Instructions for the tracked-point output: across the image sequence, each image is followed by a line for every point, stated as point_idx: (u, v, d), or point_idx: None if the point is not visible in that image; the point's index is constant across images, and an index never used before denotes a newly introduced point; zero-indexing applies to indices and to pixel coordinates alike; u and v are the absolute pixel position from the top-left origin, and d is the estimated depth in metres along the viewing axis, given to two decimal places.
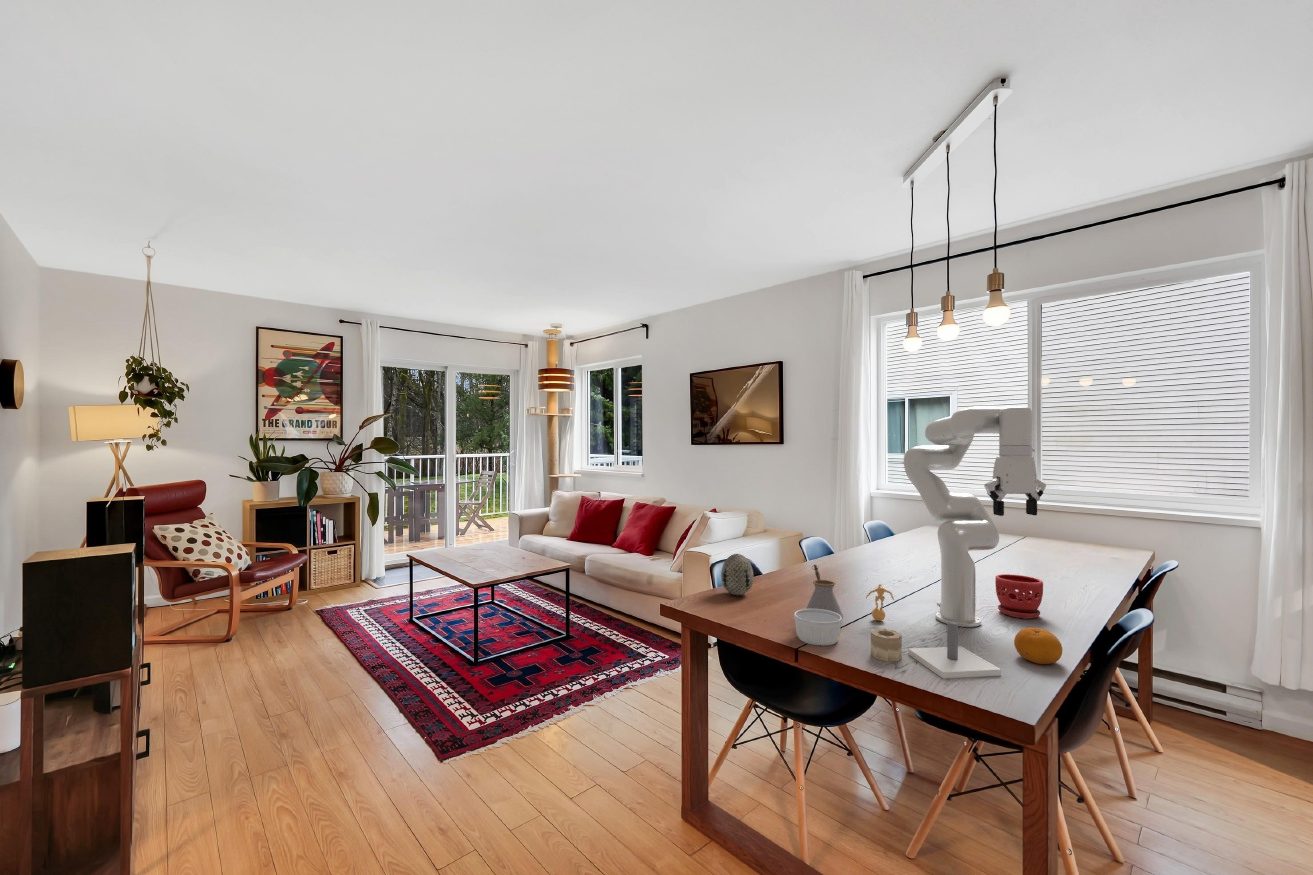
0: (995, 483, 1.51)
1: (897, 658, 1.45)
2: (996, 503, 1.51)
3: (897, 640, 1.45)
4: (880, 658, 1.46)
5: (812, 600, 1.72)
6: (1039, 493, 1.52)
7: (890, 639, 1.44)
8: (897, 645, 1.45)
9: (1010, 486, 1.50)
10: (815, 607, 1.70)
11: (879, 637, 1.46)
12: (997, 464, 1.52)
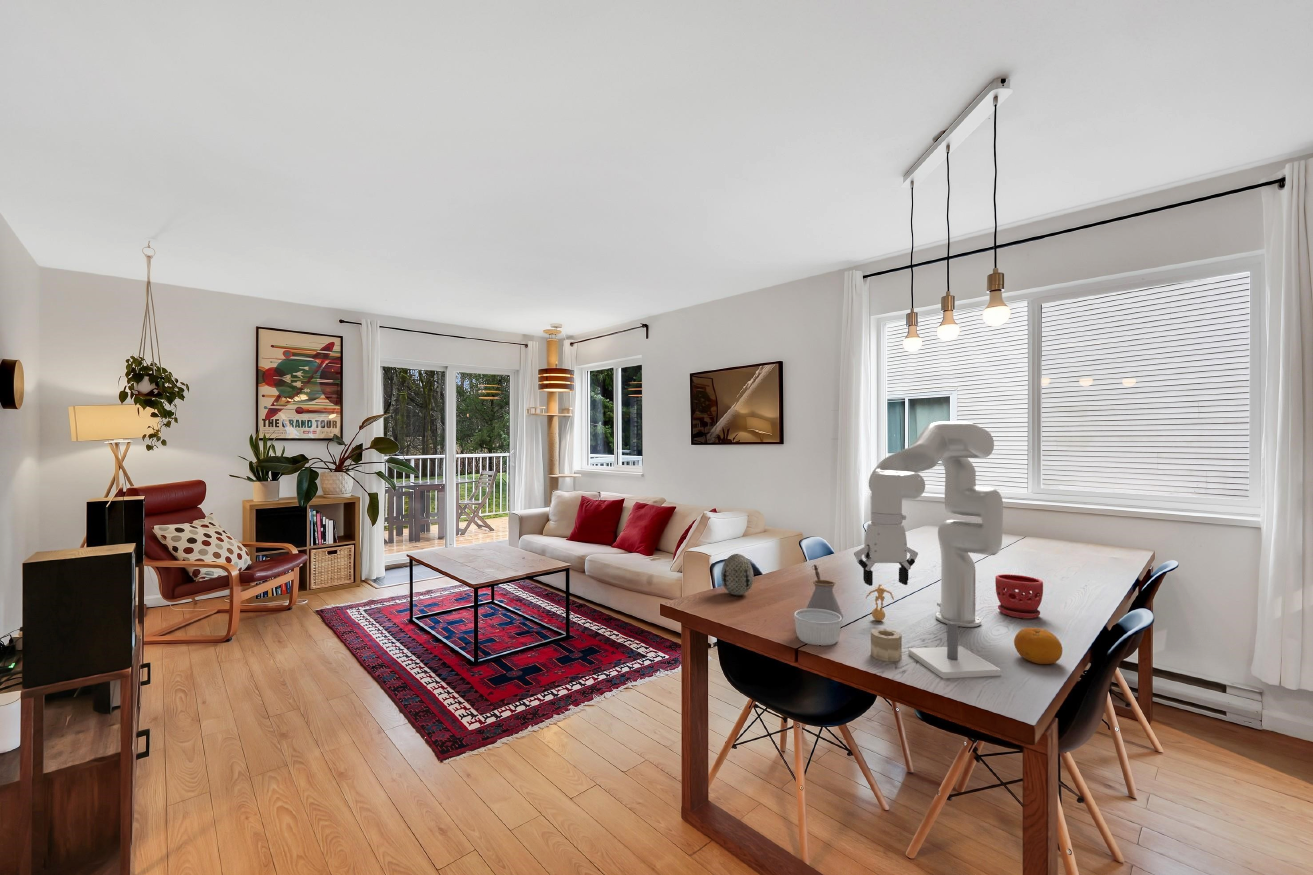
0: (864, 552, 1.47)
1: (897, 658, 1.45)
2: (865, 572, 1.47)
3: (897, 640, 1.45)
4: (880, 658, 1.46)
5: (812, 600, 1.72)
6: (910, 562, 1.48)
7: (890, 639, 1.44)
8: (897, 645, 1.45)
9: (878, 555, 1.45)
10: (815, 607, 1.70)
11: (879, 637, 1.46)
12: (867, 531, 1.48)
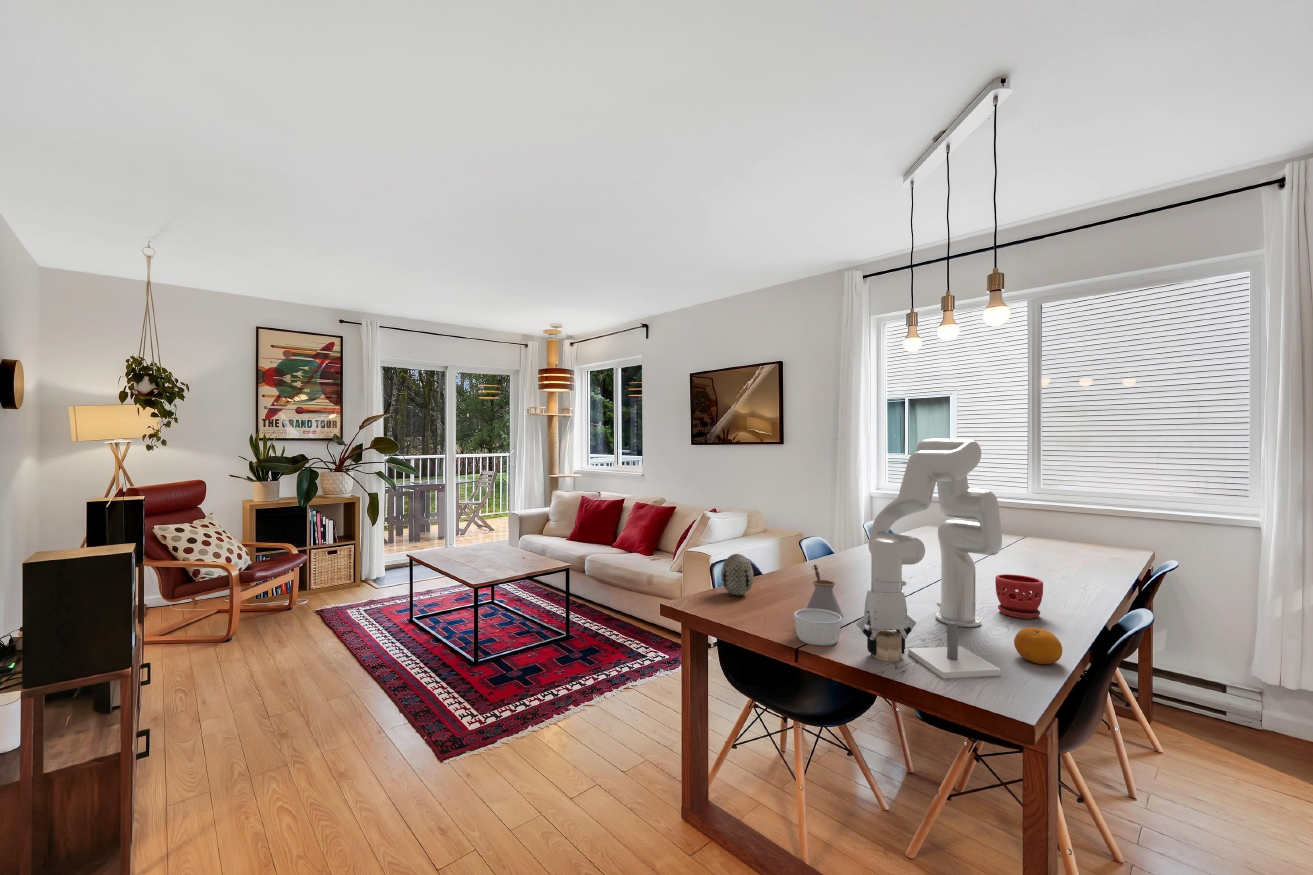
0: (866, 621, 1.47)
1: (897, 658, 1.45)
2: (869, 641, 1.47)
3: (897, 640, 1.45)
4: (880, 658, 1.46)
5: (812, 600, 1.72)
6: (907, 630, 1.48)
7: (890, 639, 1.44)
8: (897, 645, 1.45)
9: (879, 623, 1.45)
10: (815, 607, 1.70)
11: (879, 637, 1.46)
12: (867, 598, 1.48)
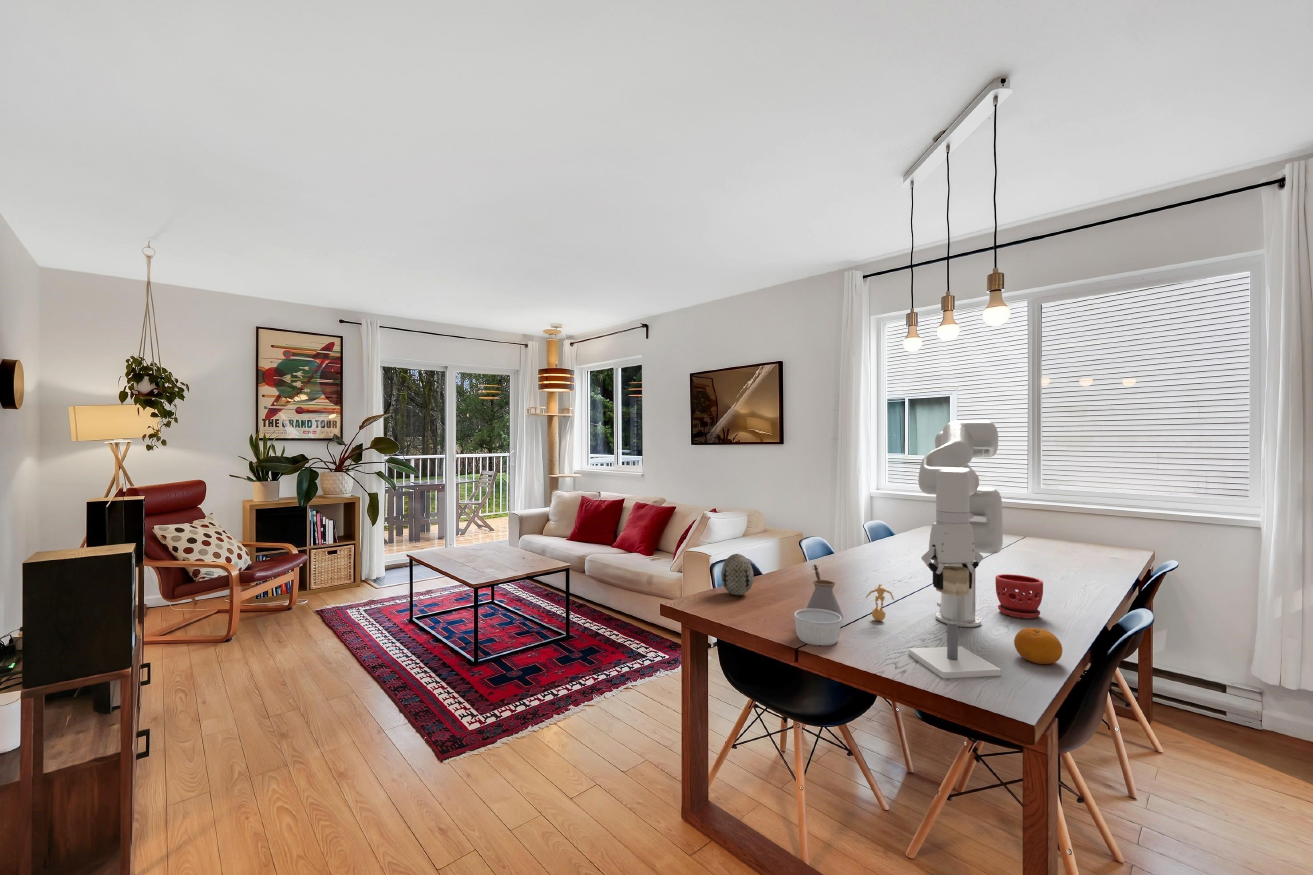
0: (932, 554, 1.41)
1: (965, 592, 1.39)
2: (935, 576, 1.42)
3: (966, 574, 1.39)
4: (947, 592, 1.40)
5: (812, 600, 1.72)
6: (974, 565, 1.42)
7: (958, 572, 1.39)
8: (965, 578, 1.39)
9: (946, 556, 1.40)
10: (815, 607, 1.70)
11: (946, 571, 1.40)
12: (933, 531, 1.43)
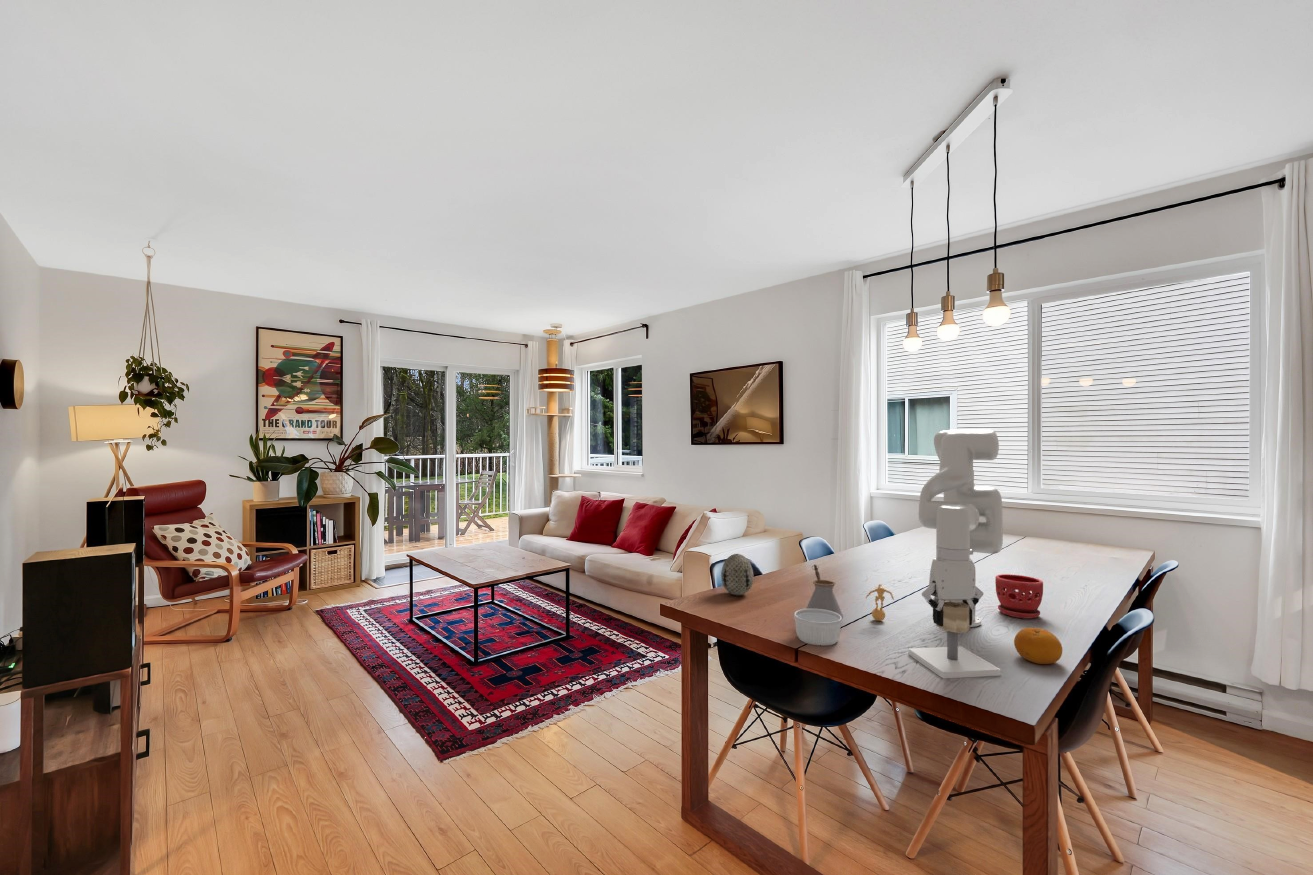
0: (932, 590, 1.41)
1: (966, 629, 1.39)
2: (935, 612, 1.42)
3: (966, 611, 1.39)
4: (948, 629, 1.40)
5: (812, 600, 1.72)
6: (974, 601, 1.42)
7: (959, 609, 1.39)
8: (966, 615, 1.39)
9: (946, 592, 1.40)
10: (815, 607, 1.70)
11: (946, 607, 1.40)
12: (933, 567, 1.43)
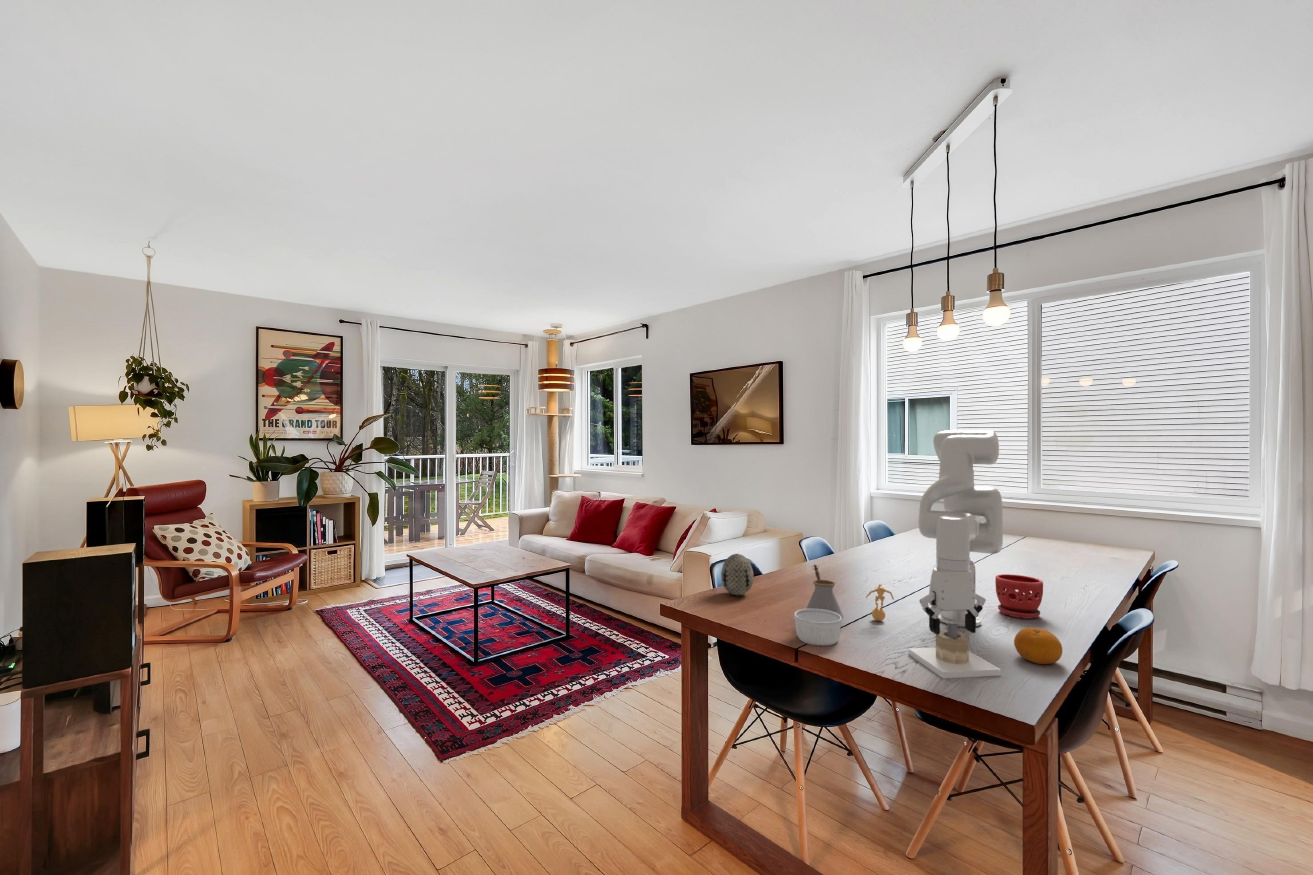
0: (930, 599, 1.41)
1: (965, 661, 1.39)
2: (932, 620, 1.42)
3: (965, 642, 1.39)
4: (947, 660, 1.40)
5: (812, 600, 1.72)
6: (978, 609, 1.42)
7: (958, 641, 1.39)
8: (965, 647, 1.39)
9: (946, 603, 1.40)
10: (815, 607, 1.70)
11: (946, 639, 1.40)
12: (933, 578, 1.43)
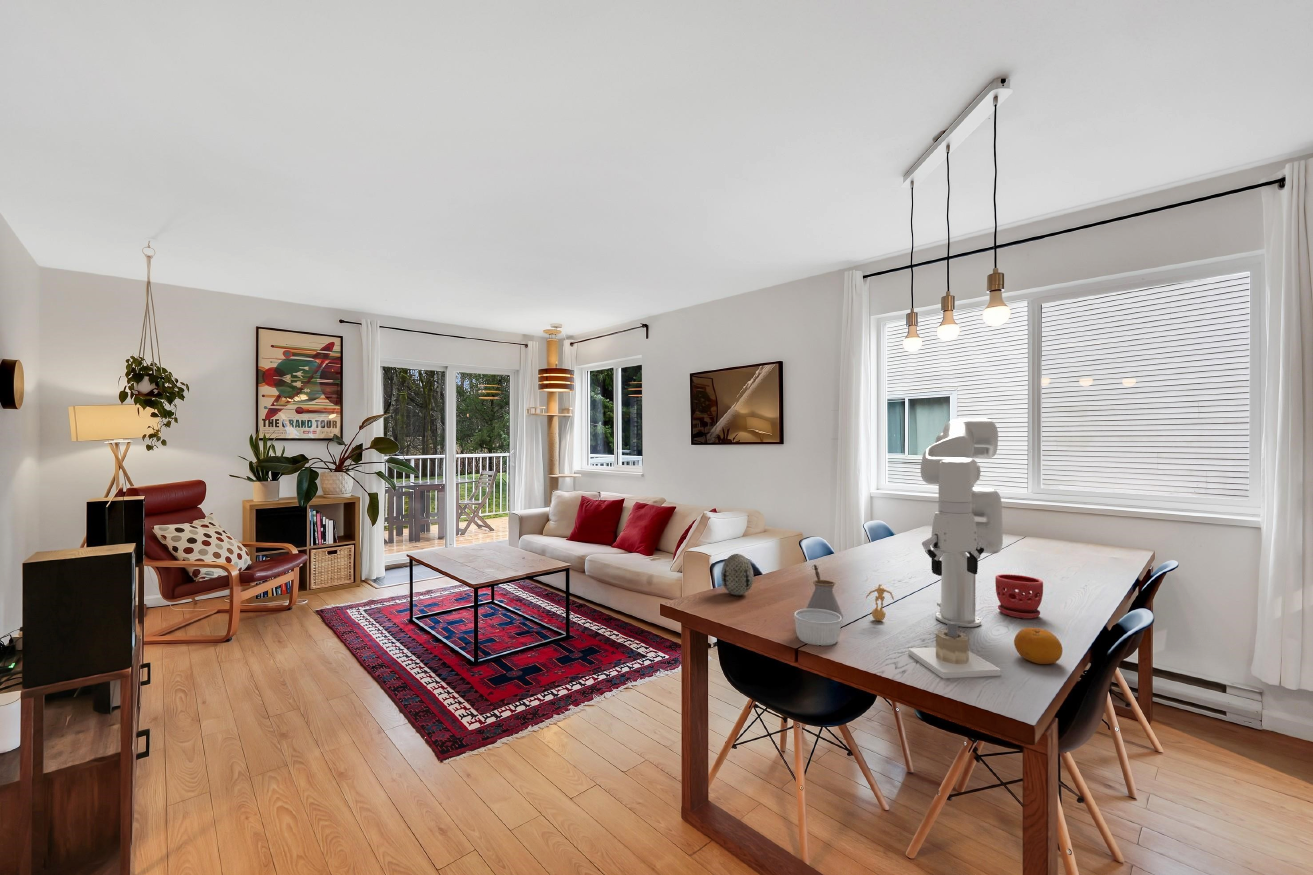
0: (933, 541, 1.43)
1: (965, 661, 1.39)
2: (934, 562, 1.44)
3: (965, 642, 1.39)
4: (947, 660, 1.40)
5: (812, 600, 1.72)
6: (980, 551, 1.44)
7: (958, 641, 1.39)
8: (965, 647, 1.39)
9: (948, 545, 1.42)
10: (815, 607, 1.70)
11: (946, 639, 1.40)
12: (935, 521, 1.44)
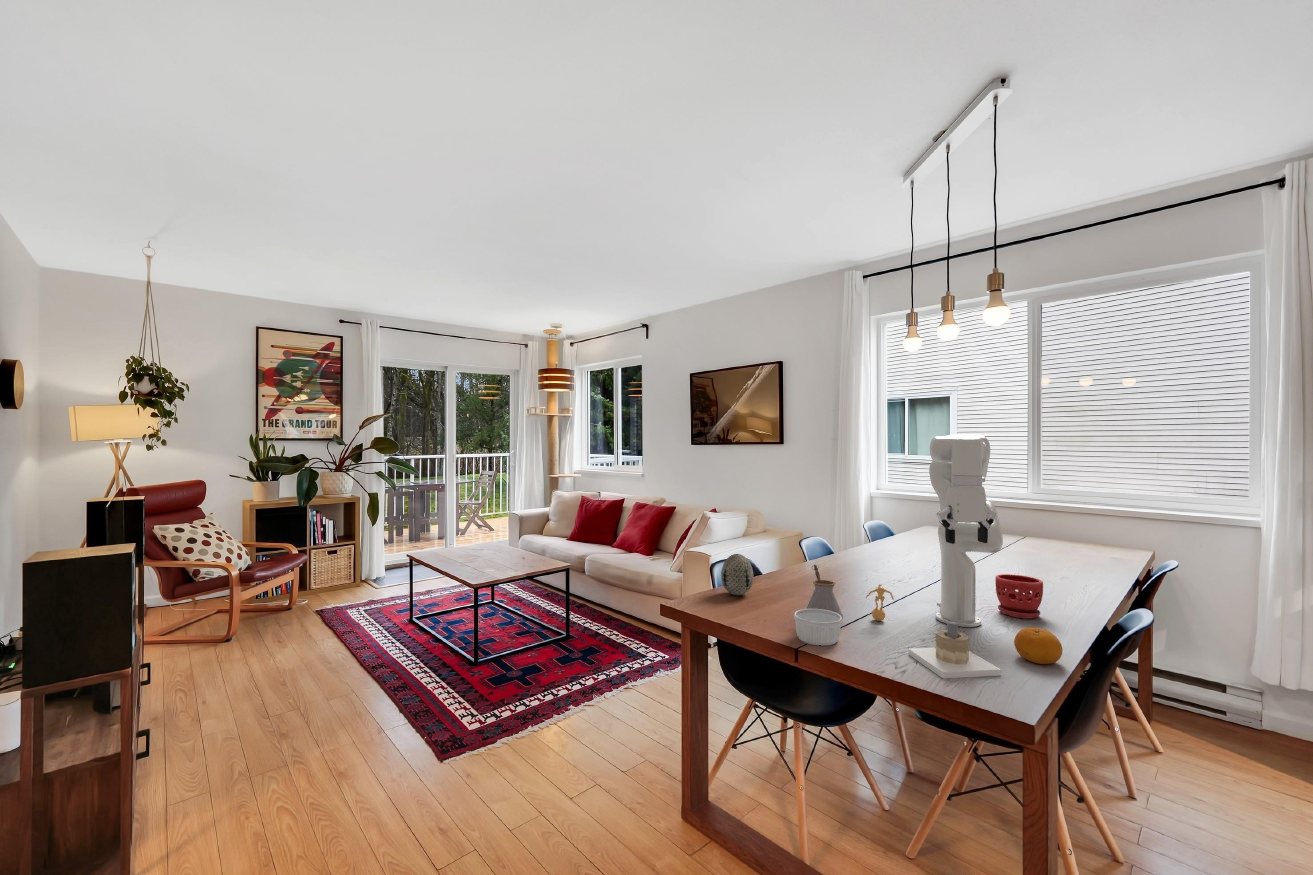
0: (947, 512, 1.56)
1: (965, 661, 1.39)
2: (948, 531, 1.56)
3: (965, 642, 1.39)
4: (947, 660, 1.40)
5: (812, 600, 1.72)
6: (990, 521, 1.57)
7: (958, 641, 1.39)
8: (965, 647, 1.39)
9: (961, 515, 1.54)
10: (815, 607, 1.70)
11: (946, 639, 1.40)
12: (949, 493, 1.57)
